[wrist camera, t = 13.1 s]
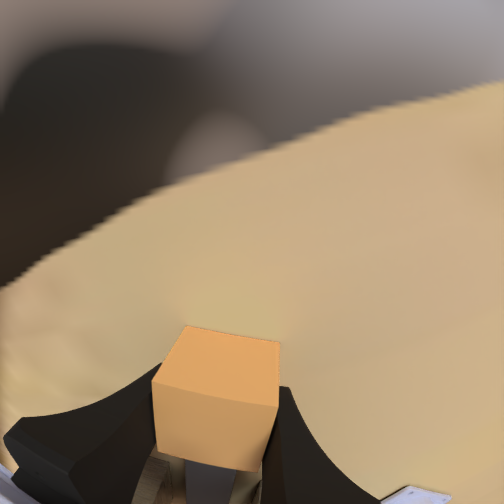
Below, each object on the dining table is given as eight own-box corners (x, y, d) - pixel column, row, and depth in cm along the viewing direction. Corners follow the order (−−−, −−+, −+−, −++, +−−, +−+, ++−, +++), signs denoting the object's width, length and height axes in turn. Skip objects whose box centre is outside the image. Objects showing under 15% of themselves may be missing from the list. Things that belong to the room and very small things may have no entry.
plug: (236, 506, 16) (229, 546, 12) (184, 495, 16) (172, 534, 12) (279, 342, 12) (278, 406, 8) (186, 325, 12) (151, 380, 8)
